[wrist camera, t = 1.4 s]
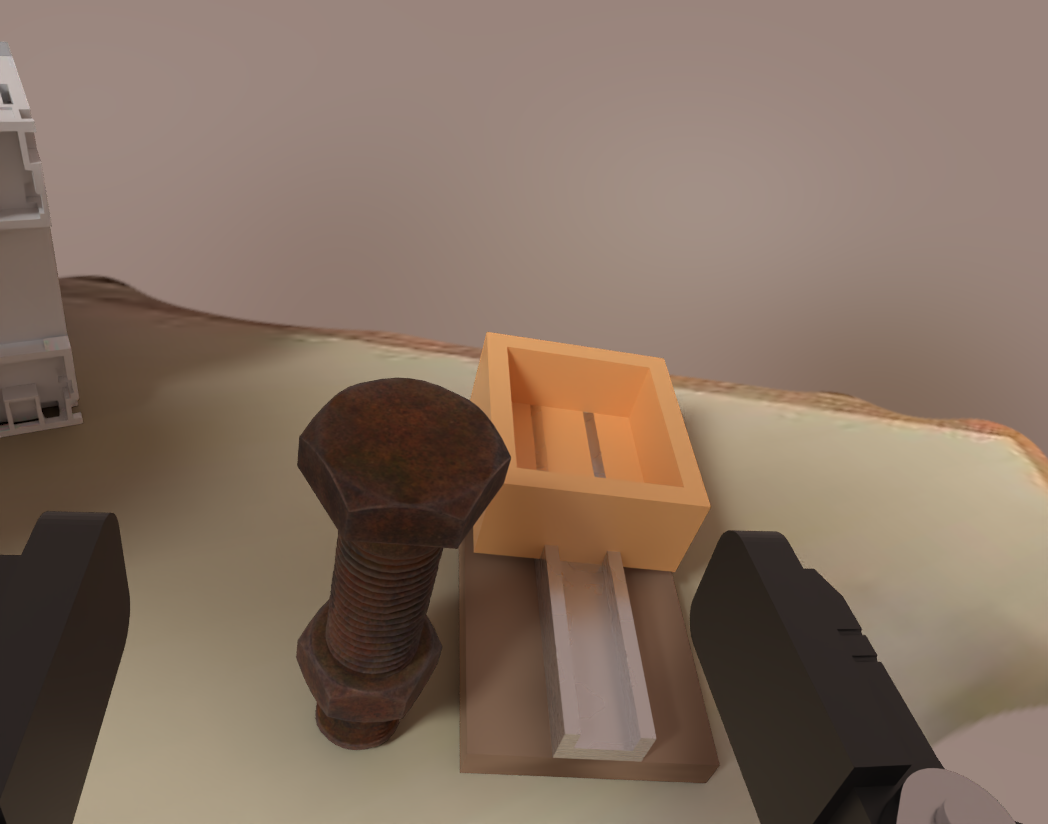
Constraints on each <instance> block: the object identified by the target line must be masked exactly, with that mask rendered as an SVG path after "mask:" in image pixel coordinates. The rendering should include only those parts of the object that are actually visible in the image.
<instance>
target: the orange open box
mask: <svg viewBox="0 0 1048 824" xmlns="http://www.w3.org/2000/svg"><path fill="white" fill-rule="evenodd" d="M470 401H471V402H473V403H474V404H475V405H477V406H478V407H479V408H480V409H481V410H482V411H483V412H484V413H485V414H486V415H487V417H488V418H489V419H490V420H491V421H492V423H493V424H494V426H495V427H496V429H497V431H498V432H499V434H500V436H501V437H502V439H503V441H504V443H505V445H506V447H507V449H508V451H509V453H510V456H511V461H510V464H509V468H508V471H507V474H506V478H505V481H504V484H503V486H502V487H501V488H500V490H499V491H498V493H497V494H496V495H495V497H494V498H493V500H492V501H491V502H490V504H489V505H488V506H487V508H486V509H485V511H484V512H483V513H482V515H481V516H480V518H479V519H478V520H477V522H476V523H475V524H474V526H473V541H474V553H484V554H494V555H505V556H515V557H526V558H536V559H540V556H541V554H542V551H543V548H544V546H545V545H554V546H558V550H559V558H560V561H567V562H577V563H588V564H598V565H601V564H602V562H603V560H604V558H605V555H606V553H607V551H614V552H620V553H621V558H622V564H623V567H629V568H640V569H650V570H660V571H671V572H675V571H676V570H677V568H678V566H679V564H680V562H681V560H682V559H683V557H684V555H685V553H686V551H687V550H688V548H689V546H690V544H691V542H692V541H693V539H694V537H695V535H696V533H697V531H698V530H699V528H700V526H701V524H702V522H703V521H704V519H705V517H706V515H707V513H708V512H709V510H710V508H711V506H710V502H709V499H708V496H707V493H706V490H705V487H704V484H703V480H702V477H701V474H700V471H699V468H698V465H697V461H696V458H695V455H694V452H693V449H692V446H691V443H690V439H689V436H688V433H687V430H686V427H685V424H684V420H683V417H682V414H681V411H680V408H679V405H678V402H677V398H676V395H675V392H674V389H673V386H672V383H671V379H670V376H669V373H668V370H667V367H666V364H665V361H664V359H663V358H657V357H651V356H643V355H637V354H631V353H624V352H617V351H610V350H604V349H597V348H591V347H584V346H577V345H571V344H564V343H558V342H551V341H544V340H538V339H531V338H524V337H518V336H511V335H504V334H497V333H491V332H487V333H486V337H485V341H484V345H483V349H482V353H481V357H480V362H479V366H478V370H477V374H476V378H475V382H474V386H473V390H472V395H471V399H470ZM531 406H532V407H533V406H534V407H533V408H536V409H534V410H538V411H536V413H535V411H533V408H532V407H531ZM530 407H531V408H530ZM539 409H540V410H539ZM533 412H534V413H533ZM537 412H538V413H537ZM539 412H540V413H541V414H539ZM583 412H587V413H588V412H589V413H593V414H592V416H593V415H594V419H595V423H594V424H595V425H596V426H595V427H596V429H595V428H594V429H595V431H596V430H597V431H596V432H597V435H598V436H597V438H598V440H599V445H600V447H599V446H595V447H598V449H599V450H600V451H601V455H600V453H599V456H600V458H602V460H603V464H602V465H601V464H600V465H601V467H599V466H598V467H597V470H596V472H597V473H598V468H603V466H604V469H603V470H604V471H605V473H604V472H603V471H602V470H601V471H602V472H603V473H604V474H605V476H606V478H605V477H604V478H602V477H603V476H602V477H600V476H599V477H600V478H599V477H595V476H594V475H595V474H594V472H595V471H594V470H593V467H592V465H594V464H592V463H593V462H592V460H591V455H590V452H591V451H590V450H591V449H590V450H589V445H588V439H587V437H588V436H587V433H588V432H587V433H586V428H585V425H586V423H585V422H584V420H585V418H586V417H585V418H584V416H583V415H584V414H583ZM589 413H588V414H589ZM532 414H533V416H531V415H532ZM534 414H535V415H537V416H536V417H534V416H535V415H534ZM588 414H586V416H588ZM541 415H542V416H541ZM592 416H591V418H592ZM531 417H532V418H531ZM537 417H538V418H537ZM539 418H541V419H539ZM532 419H533V420H532ZM537 419H538V420H537ZM534 420H535V421H537V422H536V423H537V424H538V422H539V423H540V424H538V426H537V424H535V421H534ZM540 420H541V421H540ZM542 420H543V421H542ZM588 420H589V418H588ZM588 420H586V422H587V421H588ZM591 420H592V419H591ZM533 421H534V422H533ZM541 422H543V423H541ZM589 422H590V420H589ZM589 422H588V423H589ZM592 422H593V421H592ZM542 424H543V425H542ZM534 425H535V426H534ZM540 425H541V426H540ZM589 425H590V424H589ZM592 425H593V424H592ZM543 426H544V427H543ZM533 427H534V428H533ZM536 427H537V428H536ZM539 427H541V428H539ZM592 427H593V426H592ZM588 428H589V427H588ZM540 429H541V431H542V430H543V432H541V431H540ZM594 429H593V428H592V430H593V431H594ZM535 430H537V431H535ZM539 431H540V432H541V433H542V434H541V433H540V432H539ZM590 431H591V430H590ZM535 432H536V433H535ZM538 432H539V433H538ZM533 433H534V434H535V437H534V434H533ZM543 433H544V435H545V437H544V435H543ZM589 433H590V432H589ZM538 434H539V435H538ZM540 434H541V435H540ZM592 434H593V433H592ZM592 434H591V436H594V434H593V435H592ZM588 435H589V434H588ZM541 436H542V437H543V438H544V439H543V440H542V438H541ZM591 436H590V437H591ZM536 437H537V438H538V439H540V438H541V439H540V440H539V441H541V442H539V441H538V439H536ZM593 438H594V439H595V437H592V438H590V439H593ZM597 438H596V441H597ZM590 439H589V440H590ZM535 440H536V441H535ZM534 441H535V443H536V442H538V443H536V444H534ZM544 441H545V442H544ZM542 442H543V443H544V445H543V443H542ZM545 443H546V444H545ZM592 443H593V440H592ZM537 444H539V445H537ZM594 444H595V445H596V442H595V443H594ZM594 444H593V446H594ZM540 445H541V447H539V446H540ZM597 445H598V441H597ZM537 446H538V447H537ZM542 447H544V448H543V449H545V450H544V451H543V449H542ZM545 447H546V448H545ZM590 447H591V446H590ZM535 448H536V449H537V450H538V451H539V452H537V451H535V450H536V449H535ZM539 448H541V449H540V450H542V451H540V450H539ZM595 449H596V448H595ZM535 452H536V453H537V454H538V455H539V457H541V455H542V457H544V455H545V453H546V452H547V454H546V455H547V456H546V455H545V457H546V458H545V457H544V458H545V459H544V458H542V457H541V458H539V457H538V455H537V454H536V453H535ZM542 452H543V453H544V454H543V453H542ZM593 452H594V451H593ZM593 452H592V453H591V454H593ZM597 452H599V451H598V450H597ZM597 452H596V453H597ZM535 455H536V456H537V458H536V456H535ZM593 456H595V453H594V455H593ZM596 456H597V455H596ZM599 456H598V457H597V458H598V459H599ZM601 456H602V457H601ZM538 458H539V459H540V460H537V459H538ZM593 458H594V457H593ZM593 458H592V459H593ZM541 459H542V460H541ZM594 460H595V459H594ZM594 460H593V461H594ZM600 460H601V459H600ZM602 460H601V461H600V462H602ZM538 461H541V462H540V463H539V462H538ZM543 461H545V463H543ZM598 461H599V460H598ZM537 462H538V463H537ZM596 462H597V461H596ZM596 462H595V461H594V463H596ZM600 462H599V463H600ZM536 463H537V465H536ZM541 463H543V464H541ZM538 464H540V465H538ZM544 464H545V465H544ZM546 464H548V465H546ZM541 465H543V466H542V467H541ZM597 465H598V463H597V464H596V466H597ZM538 466H539V468H538ZM544 466H546V467H545V468H544ZM537 468H538V470H537ZM541 468H542V469H541ZM539 469H541V470H542V471H541V470H539ZM595 469H596V468H595ZM546 470H547V471H546ZM599 473H601V472H599ZM603 473H602V474H601V475H603ZM596 475H598V474H596ZM599 475H600V474H599Z"/></svg>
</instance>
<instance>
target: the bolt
mask: <svg viewBox="0 0 1048 824" xmlns="http://www.w3.org/2000/svg"><path fill="white" fill-rule="evenodd" d="M510 461H511V456H510V453H509V451H508V449H507V447H506V445H505V443H504V441H503V439H502V437H501V436H500V434H499V432H498V431H497V429H496V427H495V426H494V424H493V423H492V421H491V420H490V419H489V418H488V417H487V415H486V414H485V413H484V412H483V411H482V410H481V409H480V408H479V407H478V406H477V405H475V404H474V403H473V402H471V401H470V400H468V399H466V398H464V397H462V396H460V395H458V394H456V393H454V392H451V391H449V390H447V389H445V388H443V387H441V386H438V385H435V384H432V383H429V382H426V381H422V380H416V379H410V378H388V379H380V380H374V381H369V382H364V383H359V384H356V385H353V386H350V387H348V388H346V389H344V390H343V391H341V392H339V393H338V394H337V395H336V396H334V397H333V398H332V399H331V400H330V401H329V402H328V403H327V404H326V405H325V406H324V407H323V408H322V409H321V410H320V411H319V412H318V413H317V415H316V416H315V417H314V418H313V419H312V421H311V422H310V423H309V425H308V426H307V427H306V429H305V430H304V431H303V433H302V434H301V436H300V438H299V450H298V463H297V466H298V467H299V469H300V471H301V472H302V474H303V475H304V477H305V478H306V480H307V482H308V483H309V485H310V486H311V488H312V490H313V491H314V493H315V494H316V496H317V497H318V499H319V501H320V502H321V504H322V505H323V507H324V509H325V510H326V512H327V513H328V515H329V516H330V518H331V520H332V521H333V523H334V524H335V526H336V528H337V529H338V539H337V547H336V556H335V565H334V571H333V578H332V585H331V595H330V599H329V600H328V601H327V602H326V603H325V604H324V605H323V606H322V607H321V608H320V610H319V611H318V612H317V614H316V615H315V616H314V617H313V619H312V620H311V621H310V623H309V624H308V626H307V627H306V629H305V630H304V632H303V633H302V635H301V636H300V638H299V639H298V645H297V656H296V658H297V661H298V663H299V666H300V669H301V671H302V674H303V676H304V678H305V681H306V683H307V685H308V687H309V689H310V691H311V693H312V695H313V696H314V698H315V700H316V701H317V705H316V722H317V726H318V727H319V729H320V731H321V732H322V733H323V734H324V735H325V736H326V737H327V738H328V739H329V740H330V741H331V742H333V743H334V744H335V745H337V746H340V747H342V748H346V749H350V750H362V749H368V748H372V747H376V746H378V745H380V744H382V743H384V742H385V741H387V740H388V739H389V738H390V737H391V736H392V734H393V733H394V732H395V730H396V728H397V726H398V724H399V720H400V719H402V718H403V717H404V716H405V714H406V713H407V712H408V710H409V709H410V708H411V706H412V705H413V703H414V702H415V701H416V699H417V698H418V696H419V695H420V693H421V691H422V690H423V688H424V686H425V685H426V683H427V681H428V680H429V678H430V676H431V674H432V672H433V671H434V669H435V667H436V665H437V663H438V660H439V656H440V653H441V650H442V645H441V643H440V641H439V638H438V636H437V634H436V632H435V629H434V628H433V626H432V624H431V622H430V620H429V619H428V617H427V615H426V613H427V609H428V606H429V602H430V597H431V595H432V590H433V586H434V583H435V578H436V575H437V571H438V564H439V561H440V558H441V555H442V551H443V548H456V549H457V548H458V547H459V545H460V544H461V543H462V541H463V540H464V538H465V537H466V536H467V534H468V533H469V531H470V530H471V529H472V527H473V526H474V524H475V523H476V522H477V520H478V519H479V518H480V516H481V515H482V513H483V512H484V511H485V509H486V508H487V506H488V505H489V504H490V502H491V501H492V500H493V498H494V497H495V495H496V494H497V493H498V491H499V490H500V488H501V487H502V486H503V484H504V481H505V478H506V474H507V471H508V468H509V464H510Z"/></svg>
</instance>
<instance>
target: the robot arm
mask: <svg viewBox="0 0 1048 824" xmlns="http://www.w3.org/2000/svg"><path fill="white" fill-rule="evenodd" d="M129 617H130V596H129V588H128V582H127V575H126V569H125V563H124V556H123V550H122V543H121V537H120V530H119V524H118V520H117V517H116V515H115V514H114V513H94V512H55V511H46V512H44V513H43V514H42V515H41V516H40V518H39V519H38V521H37V523H36V525H35V527H34V529H33V531H32V533H31V535H30V538H29V540H28V542H27V544H26V546H25V548H24V550H23V553H22V555H0V824H72V823H73V820H74V816H75V813H76V810H77V806H78V803H79V799H80V796H81V793H82V789H83V786H84V783H85V779H86V776H87V772H88V769H89V766H90V762H91V759H92V755H93V752H94V749H95V745H96V742H97V739H98V735H99V732H100V728H101V725H102V722H103V718H104V715H105V711H106V708H107V705H108V701H109V698H110V695H111V691H112V688H113V684H114V681H115V678H116V674H117V671H118V667H119V664H120V661H121V657H122V654H123V651H124V647H125V643H126V639H127V633H128V627H129ZM861 630H862V628H861V627H860V625H859V623H858V621H857V620H856V618H855V616H854V615H853V613H852V611H851V610H850V608H849V606H848V604H847V603H846V601H845V599H844V598H843V596H842V595H841V594H840V593H839V592H837V591H836V590H835V589H834V588H833V587H832V586H831V585H830V584H829V583H828V582H827V581H826V580H825V579H824V578H823V577H822V576H821V575H820V574H819V573H818V572H817V571H816V570H815V569H803V567H802V565H801V564H800V562H799V560H798V558H797V556H796V555H795V553H794V551H793V549H792V547H791V546H790V544H789V542H788V540H787V539H786V538H785V537H784V535H782V534H781V533H779V532H770V531H726V532H725V533H723V535H722V536H721V537H720V539H719V541H718V543H717V546H716V548H715V550H714V553H713V555H712V557H711V559H710V562H709V564H708V566H707V569H706V571H705V573H704V575H703V578H702V580H701V582H700V585H699V587H698V589H697V591H696V594H695V596H694V598H693V601H692V605H691V610H690V631H691V637H692V641H693V644H694V647H695V650H696V652H697V655H698V658H699V660H700V663H701V666H702V668H703V671H704V674H705V676H706V679H707V682H708V684H709V687H710V690H711V692H712V695H713V698H714V700H715V703H716V706H717V708H718V711H719V714H720V716H721V719H722V722H723V724H724V727H725V730H726V732H727V735H728V738H729V740H730V743H731V746H732V748H733V751H734V754H735V756H736V759H737V762H738V764H739V767H740V770H741V772H742V775H743V778H744V780H745V783H746V786H747V788H748V791H749V794H750V796H751V799H752V802H753V804H754V807H755V810H756V812H757V815H758V818H759V820H760V823H761V824H1021V823H1018V822H1016V821H1014V820H1013V819H1012V817H1011V816H1010V814H1009V813H1008V812H1007V810H1006V809H1005V808H1004V807H1003V806H1002V805H1001V804H1000V803H999V802H998V800H996V799H995V798H994V797H993V796H992V795H991V794H990V793H989V792H988V791H986V790H985V789H984V788H982V787H981V786H979V785H978V784H976V783H975V782H973V781H971V780H970V779H968V778H966V777H964V776H962V775H959V774H958V773H955V772H951V771H948V770H945V769H944V767H943V766H942V764H941V763H940V761H939V760H938V758H937V757H936V755H935V753H934V751H933V750H932V748H931V746H930V745H929V743H928V741H927V739H926V738H925V736H924V734H923V733H922V731H921V729H920V727H919V726H918V724H917V722H916V721H915V719H914V717H913V716H912V714H911V712H910V710H909V709H908V707H907V705H906V704H905V702H904V700H903V698H902V697H901V695H900V693H899V692H898V690H897V688H896V686H895V685H894V683H893V681H892V680H891V678H890V676H889V674H888V673H887V671H886V669H885V668H884V666H883V664H882V663H881V662H878V661H877V654H876V652H875V651H874V649H873V647H872V645H871V644H870V642H869V640H868V639H867V637H866V635H862V633H861Z"/></svg>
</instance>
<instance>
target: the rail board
mask: <svg viewBox="0 0 1048 824" xmlns="http://www.w3.org/2000/svg"><path fill="white" fill-rule="evenodd" d="M623 569H624V574H625V579H626V584H627V589H628V595H629V600H630V605H631V610H632V615H633V620H634V625H635V631H636V636H637V641H638V646H639V651H640V656H641V662H642V667H643V672H644V677H645V682H646V687H647V692H648V698H649V703H650V708H651V713H652V718H653V723H654V729H655V734H656V740H655V742H654V743H653V745H652V746H651V748H650V749H649V751H648V752H647V754H646V755H645V757H644V758H643V760H642V761H641V762H635V761H614V760H593V759H572V758H553V755H552V744H551V733H550V722H549V712H548V701H547V690H546V679H545V668H544V658H543V647H542V636H541V625H540V614H539V603H538V593H537V582H536V571H535V560H534V558H526V557H515V556H505V555H494V554H484V553H474V541H473V527H472V529H471V530H470V531H469V533H468V534H467V536H466V537H465V538H464V540H463V541H462V543H461V544H460V545H459V675H460V773H483V774H506V775H530V776H553V777H577V778H600V779H623V780H647V781H670V782H693V783H706V782H707V781H708V780H709V778H710V777H711V776H712V775H713V773H714V772H715V771H716V770H717V768H718V767H719V766H720V765H719V761H718V757H717V753H716V749H715V745H714V741H713V737H712V732H711V728H710V724H709V720H708V716H707V712H706V708H705V704H704V700H703V696H702V692H701V688H700V684H699V680H698V676H697V672H696V668H695V664H694V660H693V656H692V652H691V648H690V644H689V640H688V636H687V632H686V628H685V624H684V620H683V616H682V612H681V608H680V604H679V600H678V596H677V592H676V588H675V584H674V580H673V576H672V572H671V571H660V570H650V569H640V568H629V567H623Z"/></svg>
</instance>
